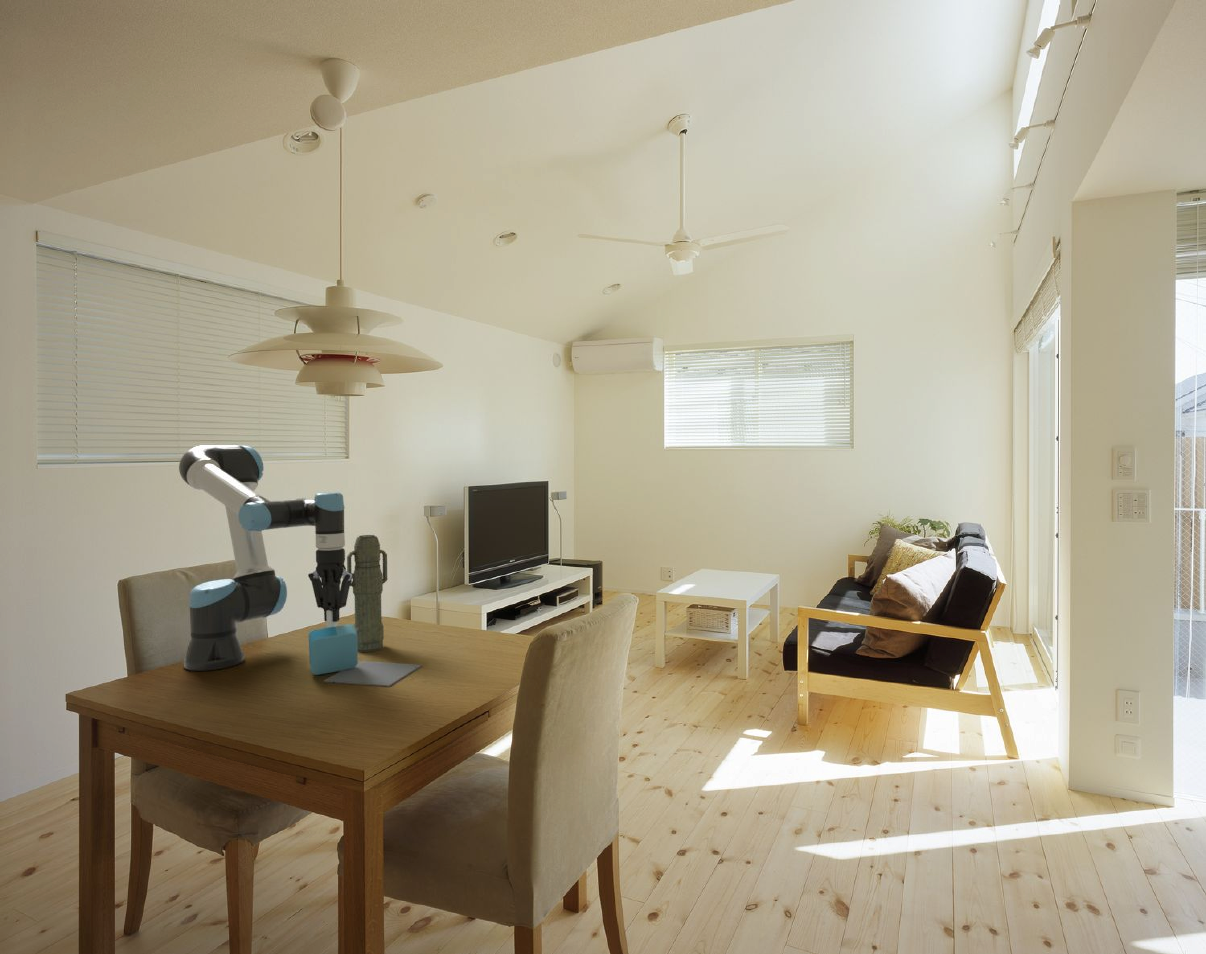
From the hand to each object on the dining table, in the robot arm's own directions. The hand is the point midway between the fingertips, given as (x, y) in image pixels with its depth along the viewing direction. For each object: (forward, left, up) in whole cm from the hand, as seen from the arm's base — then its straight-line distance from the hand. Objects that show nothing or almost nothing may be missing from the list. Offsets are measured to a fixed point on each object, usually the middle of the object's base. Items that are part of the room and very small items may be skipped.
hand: (332, 633), depth 197 cm
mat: (+13, 0, -11) cm, 17 cm away
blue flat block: (0, 0, -10) cm, 10 cm away
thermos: (-3, +23, -11) cm, 26 cm away
